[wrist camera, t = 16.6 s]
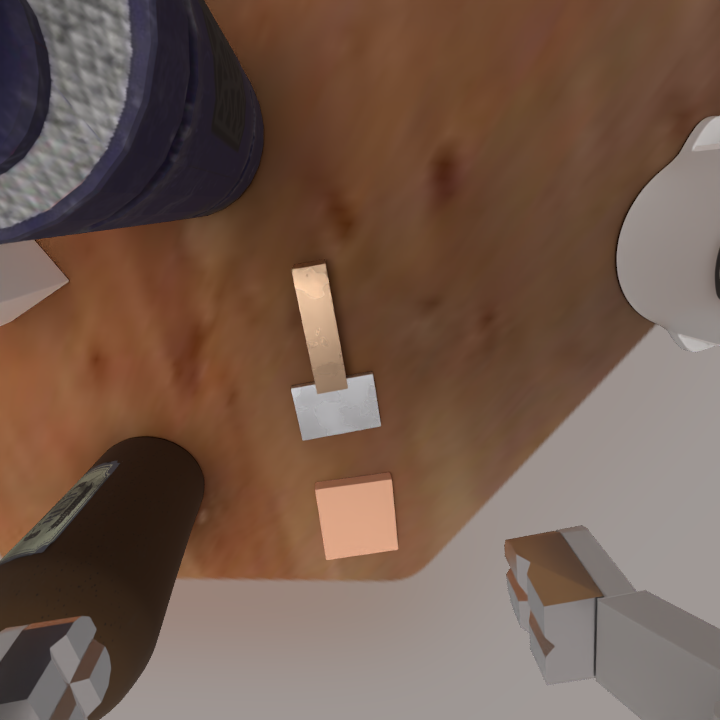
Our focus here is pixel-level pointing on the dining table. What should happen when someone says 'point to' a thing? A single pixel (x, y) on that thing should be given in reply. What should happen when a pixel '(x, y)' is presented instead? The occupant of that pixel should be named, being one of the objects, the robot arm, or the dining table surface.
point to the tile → (357, 515)
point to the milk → (25, 278)
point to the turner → (328, 365)
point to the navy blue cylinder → (119, 116)
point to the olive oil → (109, 554)
